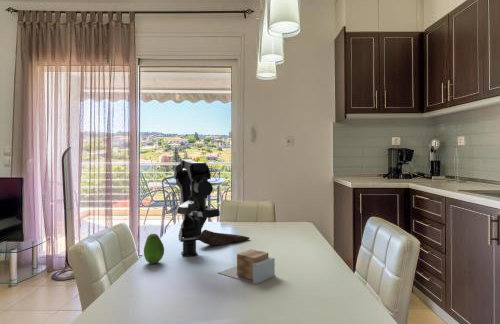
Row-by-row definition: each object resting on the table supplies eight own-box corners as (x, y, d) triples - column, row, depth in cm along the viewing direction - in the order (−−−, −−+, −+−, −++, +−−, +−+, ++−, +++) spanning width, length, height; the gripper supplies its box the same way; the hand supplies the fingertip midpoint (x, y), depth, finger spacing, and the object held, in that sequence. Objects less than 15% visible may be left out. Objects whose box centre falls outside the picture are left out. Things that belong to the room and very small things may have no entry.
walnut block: (237, 275, 126) (236, 253, 126) (251, 269, 132) (251, 249, 132) (254, 280, 121) (254, 258, 121) (268, 274, 127) (268, 252, 127)
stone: (199, 241, 162) (207, 219, 165) (193, 239, 167) (201, 218, 170) (246, 258, 176) (252, 238, 179) (239, 256, 181) (245, 237, 184)
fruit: (168, 261, 145) (167, 232, 144) (158, 267, 137) (157, 236, 137) (150, 259, 147) (150, 230, 147) (139, 265, 139) (139, 235, 139)
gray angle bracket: (217, 273, 130) (217, 255, 130) (237, 265, 138) (237, 249, 138) (256, 284, 118) (256, 265, 118) (275, 275, 127) (275, 257, 127)
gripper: (166, 193, 140) (167, 233, 140) (199, 197, 128) (199, 240, 128) (188, 191, 149) (188, 228, 149) (220, 194, 137) (220, 234, 137)
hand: (198, 232), depth 141 cm, fingers closed
